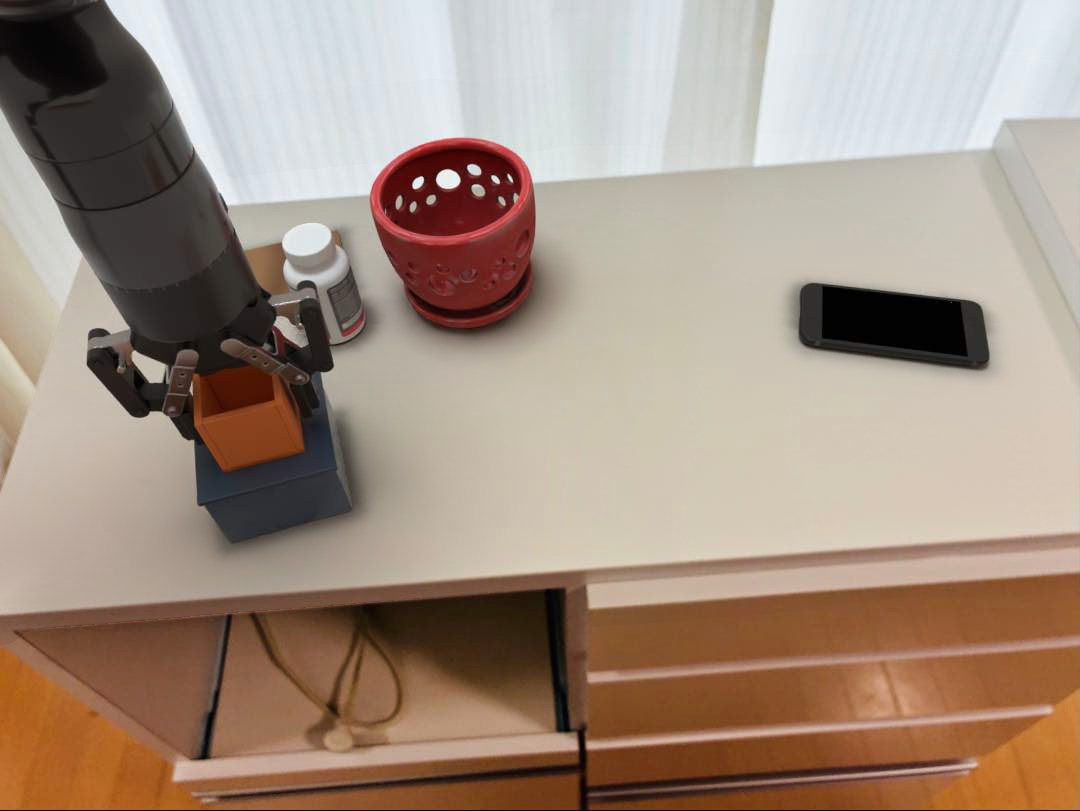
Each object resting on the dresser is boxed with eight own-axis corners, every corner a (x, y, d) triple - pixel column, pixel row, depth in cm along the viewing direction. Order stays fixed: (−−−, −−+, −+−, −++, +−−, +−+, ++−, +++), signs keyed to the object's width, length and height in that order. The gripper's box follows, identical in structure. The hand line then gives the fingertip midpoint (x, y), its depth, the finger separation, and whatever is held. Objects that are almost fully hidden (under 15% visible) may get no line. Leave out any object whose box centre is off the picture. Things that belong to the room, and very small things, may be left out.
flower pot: (414, 239, 79) (392, 130, 70) (549, 249, 78) (544, 138, 68) (378, 339, 72) (347, 231, 62) (527, 352, 70) (518, 243, 60)
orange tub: (224, 473, 56) (194, 425, 52) (219, 411, 60) (190, 362, 55) (305, 452, 57) (283, 403, 53) (296, 392, 60) (274, 342, 56)
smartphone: (799, 285, 73) (801, 277, 73) (979, 306, 71) (983, 298, 70) (796, 346, 69) (799, 339, 68) (988, 371, 66) (992, 364, 66)
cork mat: (219, 319, 74) (216, 315, 73) (214, 262, 79) (212, 257, 78) (351, 288, 76) (350, 283, 75) (339, 234, 80) (337, 229, 80)
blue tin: (227, 547, 60) (197, 504, 55) (220, 446, 65) (191, 399, 60) (356, 511, 61) (337, 466, 56) (338, 415, 67) (319, 367, 62)
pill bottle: (359, 295, 75) (333, 209, 67) (372, 336, 72) (347, 250, 64) (300, 312, 74) (267, 226, 66) (311, 353, 71) (278, 269, 63)
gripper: (12, 316, 41) (151, 493, 54) (301, 250, 43) (367, 436, 56) (25, 223, 45) (150, 407, 59) (286, 167, 48) (350, 357, 61)
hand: (256, 421), depth 57 cm, fingers open, 6 cm apart
